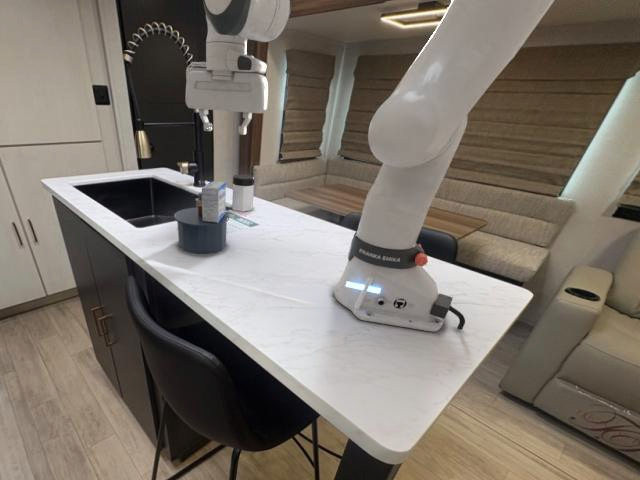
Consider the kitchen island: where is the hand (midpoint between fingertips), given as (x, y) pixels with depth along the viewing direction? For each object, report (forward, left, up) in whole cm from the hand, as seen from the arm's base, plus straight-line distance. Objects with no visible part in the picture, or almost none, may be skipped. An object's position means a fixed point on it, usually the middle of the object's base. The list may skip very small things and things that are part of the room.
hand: (224, 132), depth 76 cm
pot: (+4, +5, -29) cm, 30 cm away
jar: (+9, -35, -29) cm, 47 cm away
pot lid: (+4, +5, -21) cm, 22 cm away
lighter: (+13, -13, -29) cm, 35 cm away
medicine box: (0, +5, -20) cm, 21 cm away
